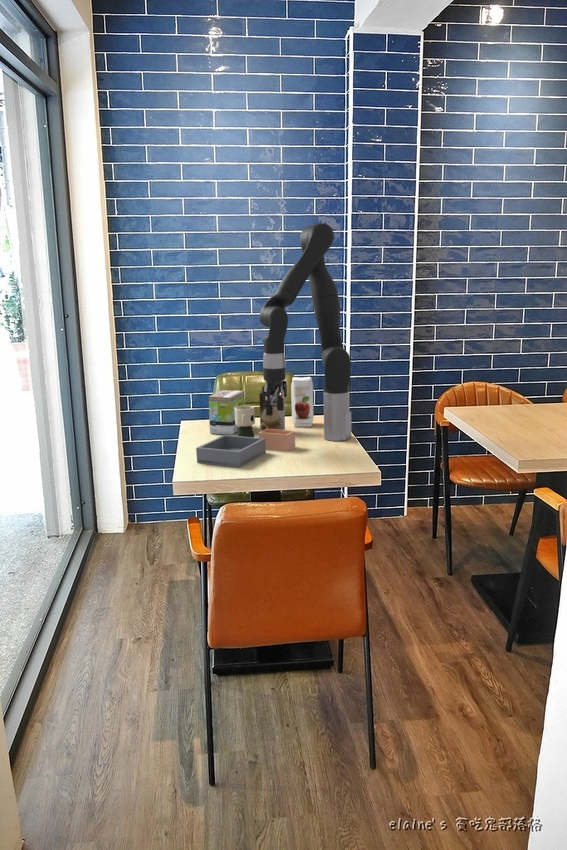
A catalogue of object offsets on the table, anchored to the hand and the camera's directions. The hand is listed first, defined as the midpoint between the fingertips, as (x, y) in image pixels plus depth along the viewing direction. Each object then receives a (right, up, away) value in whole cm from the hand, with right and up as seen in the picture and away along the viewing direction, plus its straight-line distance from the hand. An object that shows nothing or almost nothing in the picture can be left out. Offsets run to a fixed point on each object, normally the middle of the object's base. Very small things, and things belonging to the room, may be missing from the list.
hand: (275, 412), depth 225 cm
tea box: (-19, -6, +31) cm, 37 cm away
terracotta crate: (+1, -12, +3) cm, 13 cm away
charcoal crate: (-14, -15, -8) cm, 22 cm away
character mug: (-11, -11, +11) cm, 19 cm away
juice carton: (+11, -4, +35) cm, 37 cm away
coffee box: (-1, -7, +24) cm, 25 cm away
